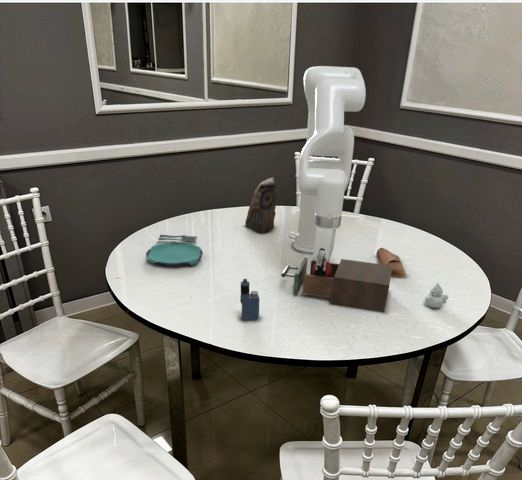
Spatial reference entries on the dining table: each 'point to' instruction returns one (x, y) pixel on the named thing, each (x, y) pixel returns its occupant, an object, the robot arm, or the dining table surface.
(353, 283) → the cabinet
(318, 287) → the drawer
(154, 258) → the cutlery set
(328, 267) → the onion
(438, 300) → the grey lumpy piece
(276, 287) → the dining table surface
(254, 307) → the vaping device
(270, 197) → the owl
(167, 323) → the dining table surface
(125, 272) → the dining table surface
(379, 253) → the sunglasses case
